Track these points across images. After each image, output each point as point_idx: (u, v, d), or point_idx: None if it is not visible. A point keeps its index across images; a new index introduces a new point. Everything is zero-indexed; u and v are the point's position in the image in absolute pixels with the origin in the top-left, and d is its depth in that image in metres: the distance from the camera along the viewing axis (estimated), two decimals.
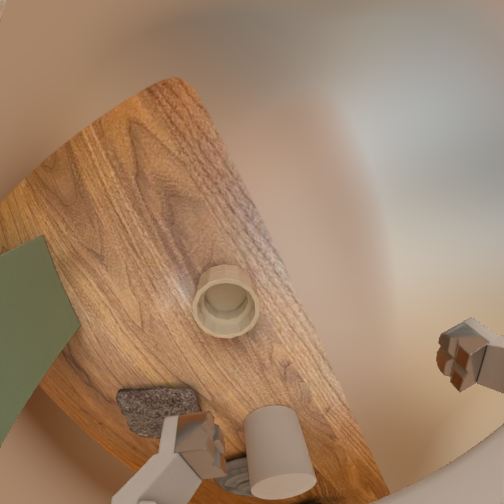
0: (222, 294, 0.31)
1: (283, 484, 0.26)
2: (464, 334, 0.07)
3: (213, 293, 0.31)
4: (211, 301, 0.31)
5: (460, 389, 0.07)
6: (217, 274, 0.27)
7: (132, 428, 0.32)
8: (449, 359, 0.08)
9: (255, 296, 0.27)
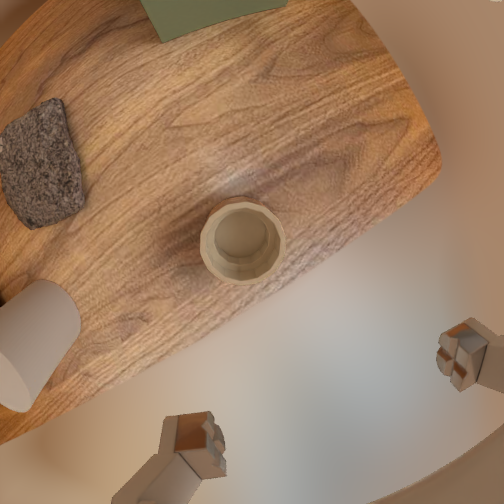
0: (237, 229, 0.25)
1: (0, 376, 0.15)
2: (464, 334, 0.07)
3: (237, 218, 0.25)
4: (226, 217, 0.25)
5: (460, 389, 0.07)
6: None
7: (9, 128, 0.17)
8: (449, 359, 0.08)
9: (265, 277, 0.22)
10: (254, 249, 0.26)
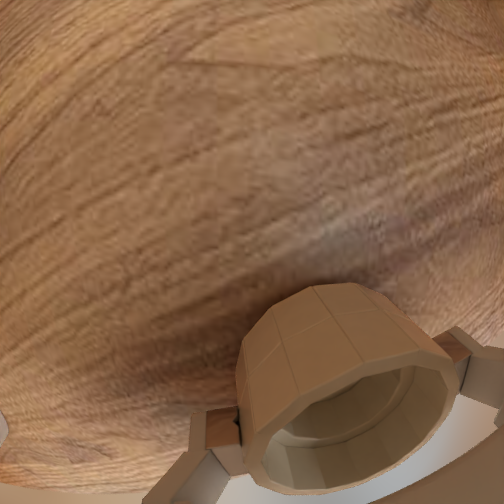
0: None
1: None
2: (446, 344, 0.07)
3: None
4: None
5: None
6: None
7: None
8: None
9: (376, 476, 0.07)
10: (342, 388, 0.10)
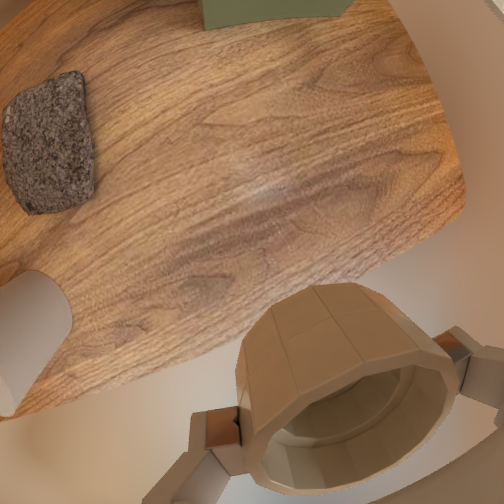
0: None
1: None
2: (447, 344, 0.07)
3: None
4: None
5: None
6: None
7: (20, 97, 0.15)
8: None
9: (376, 475, 0.07)
10: (342, 388, 0.10)
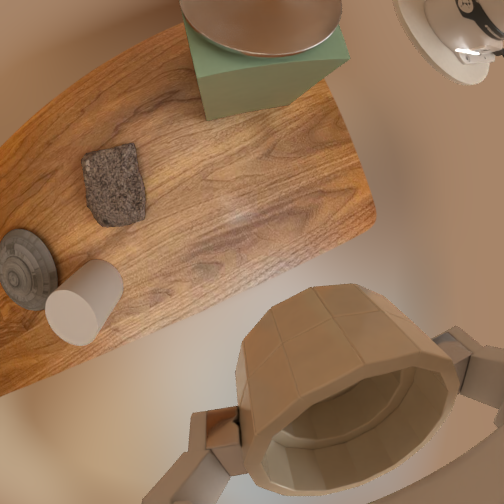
0: None
1: (76, 318, 0.31)
2: (446, 344, 0.07)
3: None
4: None
5: None
6: None
7: (96, 156, 0.34)
8: None
9: (376, 477, 0.07)
10: (342, 389, 0.10)
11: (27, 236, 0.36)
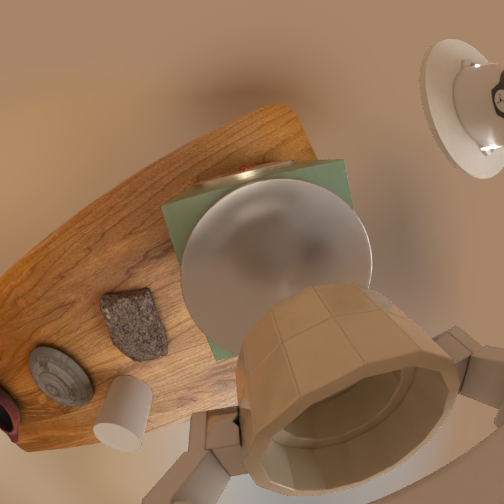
0: None
1: (123, 439, 0.35)
2: (446, 344, 0.07)
3: None
4: None
5: None
6: None
7: (114, 307, 0.38)
8: None
9: (376, 476, 0.07)
10: (342, 389, 0.10)
11: (58, 356, 0.41)
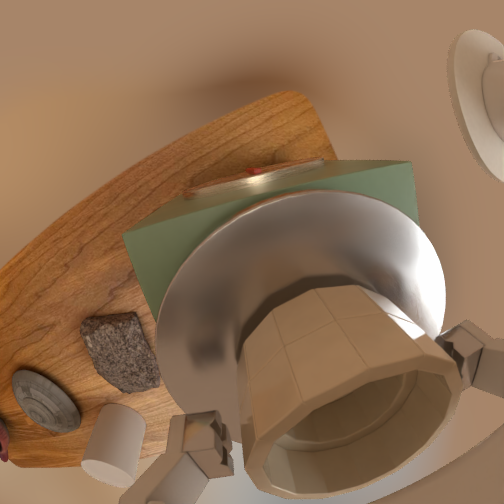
0: None
1: (113, 475, 0.28)
2: (459, 337, 0.07)
3: None
4: None
5: None
6: None
7: (96, 335, 0.30)
8: None
9: (378, 479, 0.07)
10: None
11: (40, 381, 0.33)
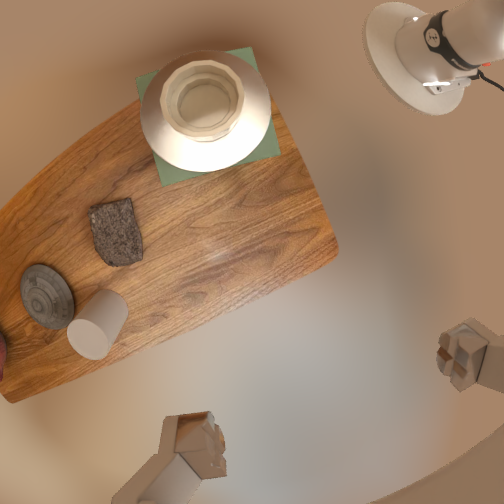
0: (202, 103, 0.23)
1: (92, 340, 0.41)
2: (464, 334, 0.07)
3: (204, 93, 0.23)
4: (193, 91, 0.23)
5: (460, 389, 0.07)
6: None
7: (99, 211, 0.44)
8: (449, 359, 0.08)
9: (219, 130, 0.20)
10: (216, 124, 0.24)
11: (47, 271, 0.47)
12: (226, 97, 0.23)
